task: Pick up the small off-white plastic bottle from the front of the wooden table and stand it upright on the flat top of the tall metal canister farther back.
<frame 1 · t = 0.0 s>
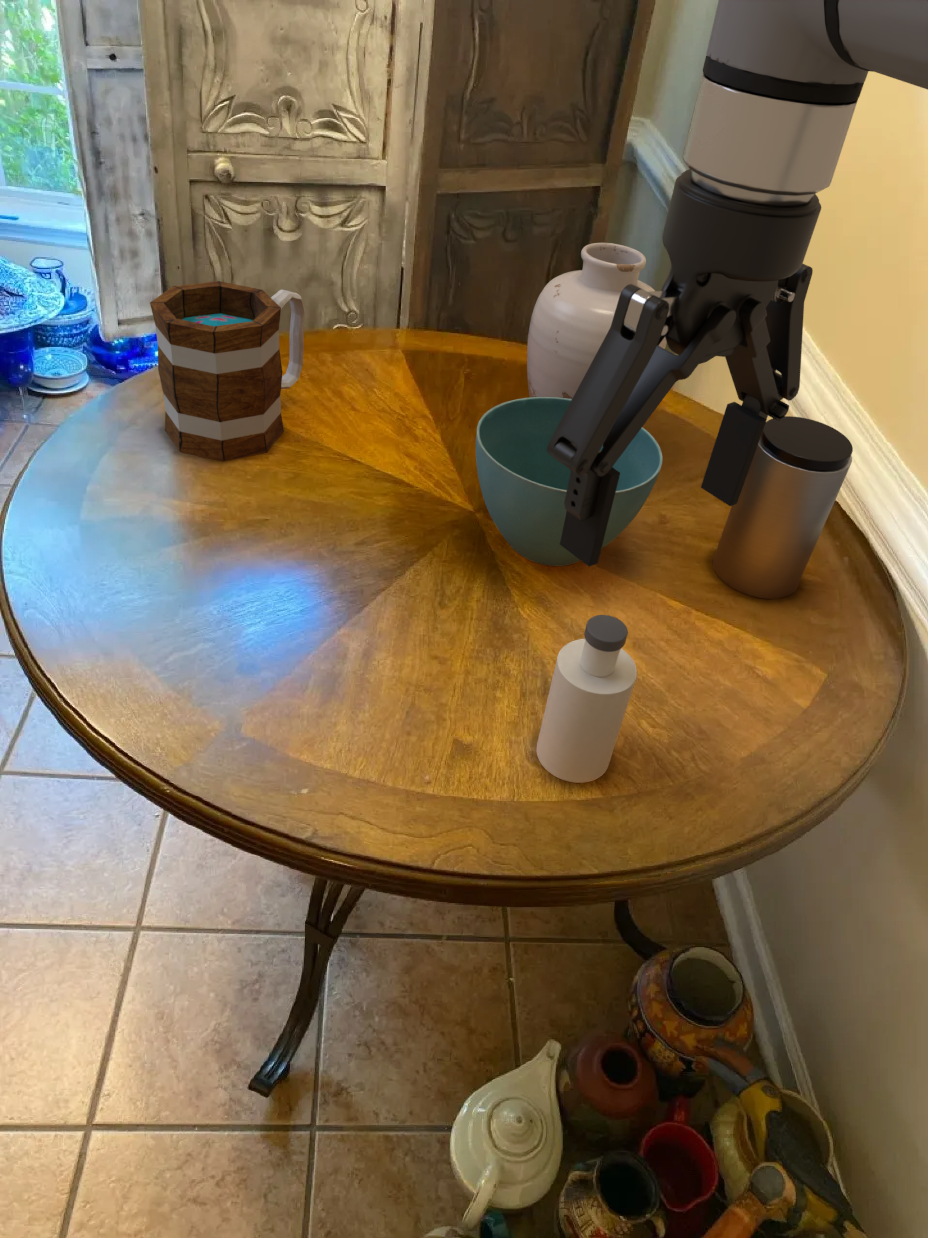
hand: (652, 523, 60), 22 cm above the table, tool pointing down, fingers open, 13 cm apart
metal canister: (755, 571, 96), on the table
vase: (575, 439, 114), on the table
bottle: (572, 754, 74), on the table
plant pot: (548, 544, 97), on the table
mug: (244, 423, 109), on the table
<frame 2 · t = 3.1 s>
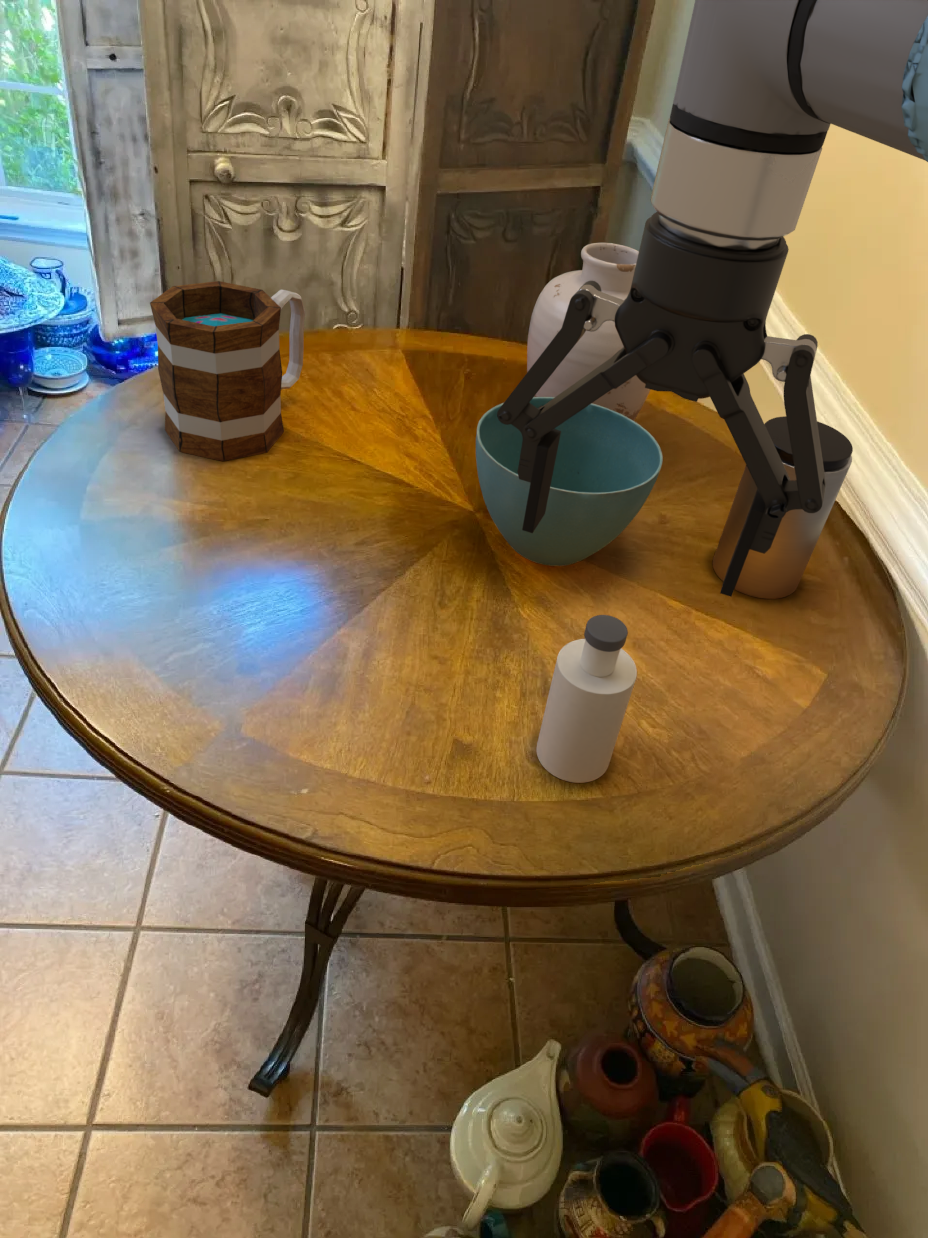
hand: (628, 552, 61), 20 cm above the table, tool pointing down, fingers open, 13 cm apart
nothing on the table moved.
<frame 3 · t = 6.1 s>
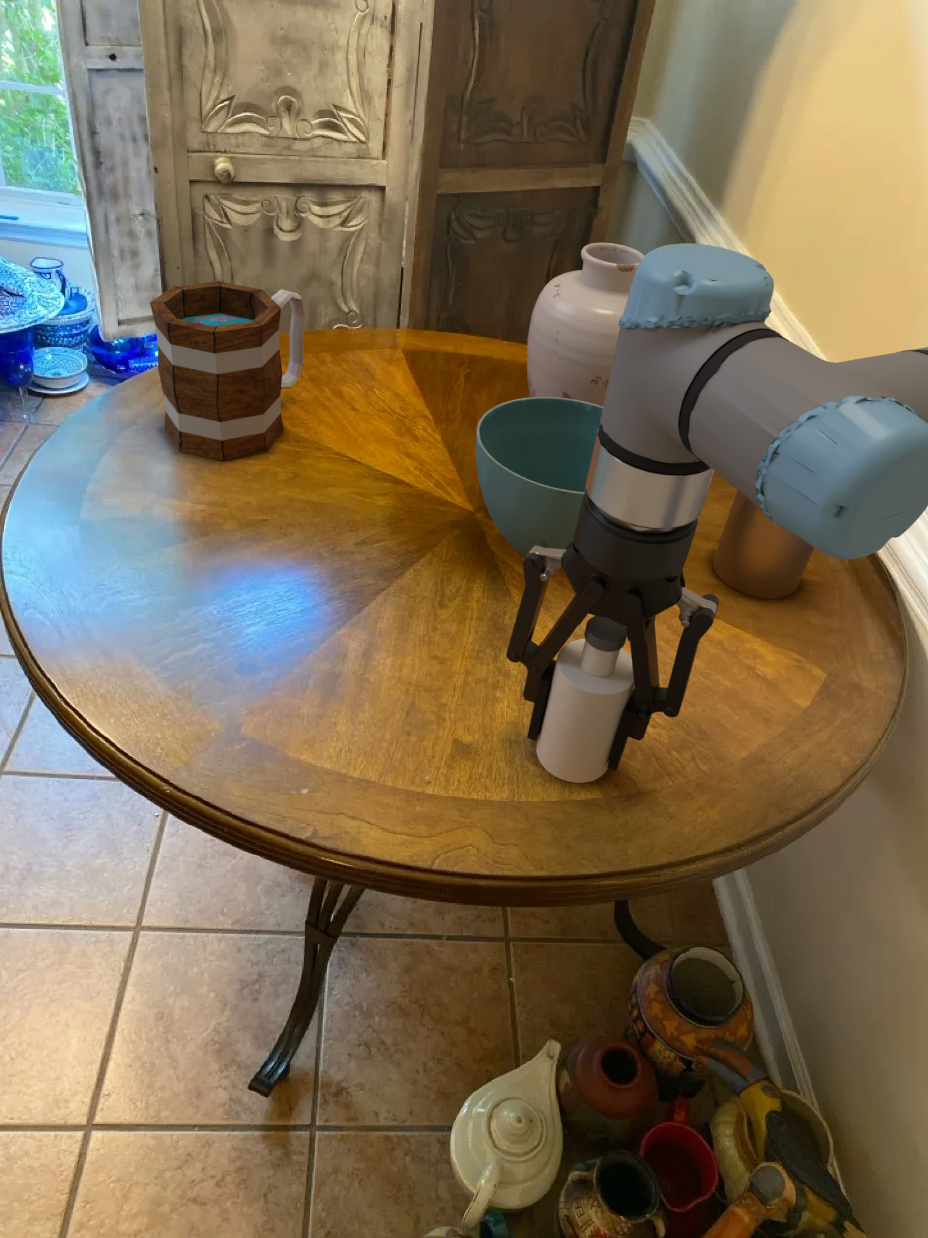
hand: (576, 742, 73), 1 cm above the table, tool pointing down, fingers closed on bottle, 6 cm apart
bottle: (572, 754, 74), on the table, touching gripper
everything else where it was.
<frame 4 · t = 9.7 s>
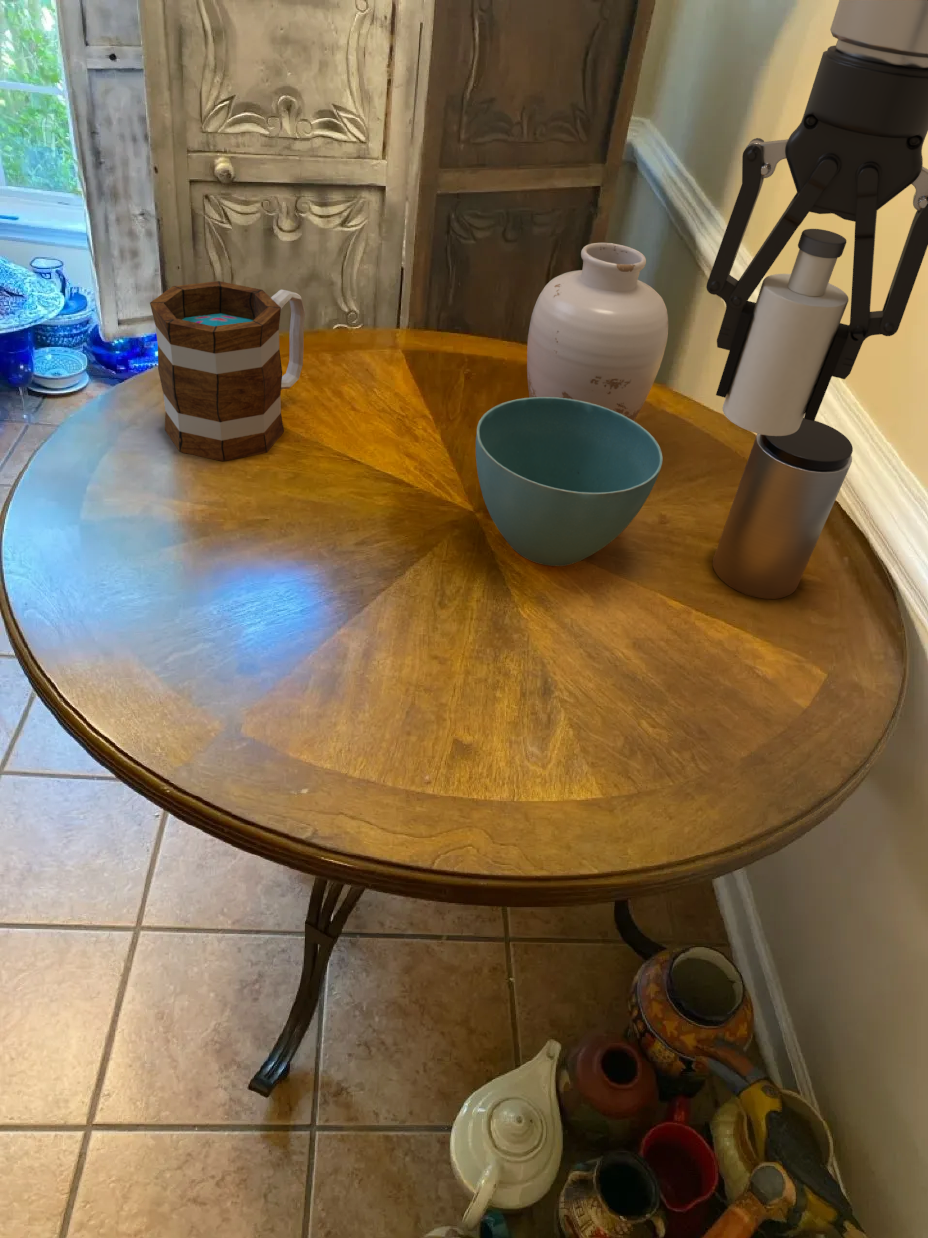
hand: (766, 400, 70), 25 cm above the table, tool pointing down, fingers closed on bottle, 6 cm apart
bottle: (760, 416, 71), point 24 cm above the table, touching gripper
everything else where it was.
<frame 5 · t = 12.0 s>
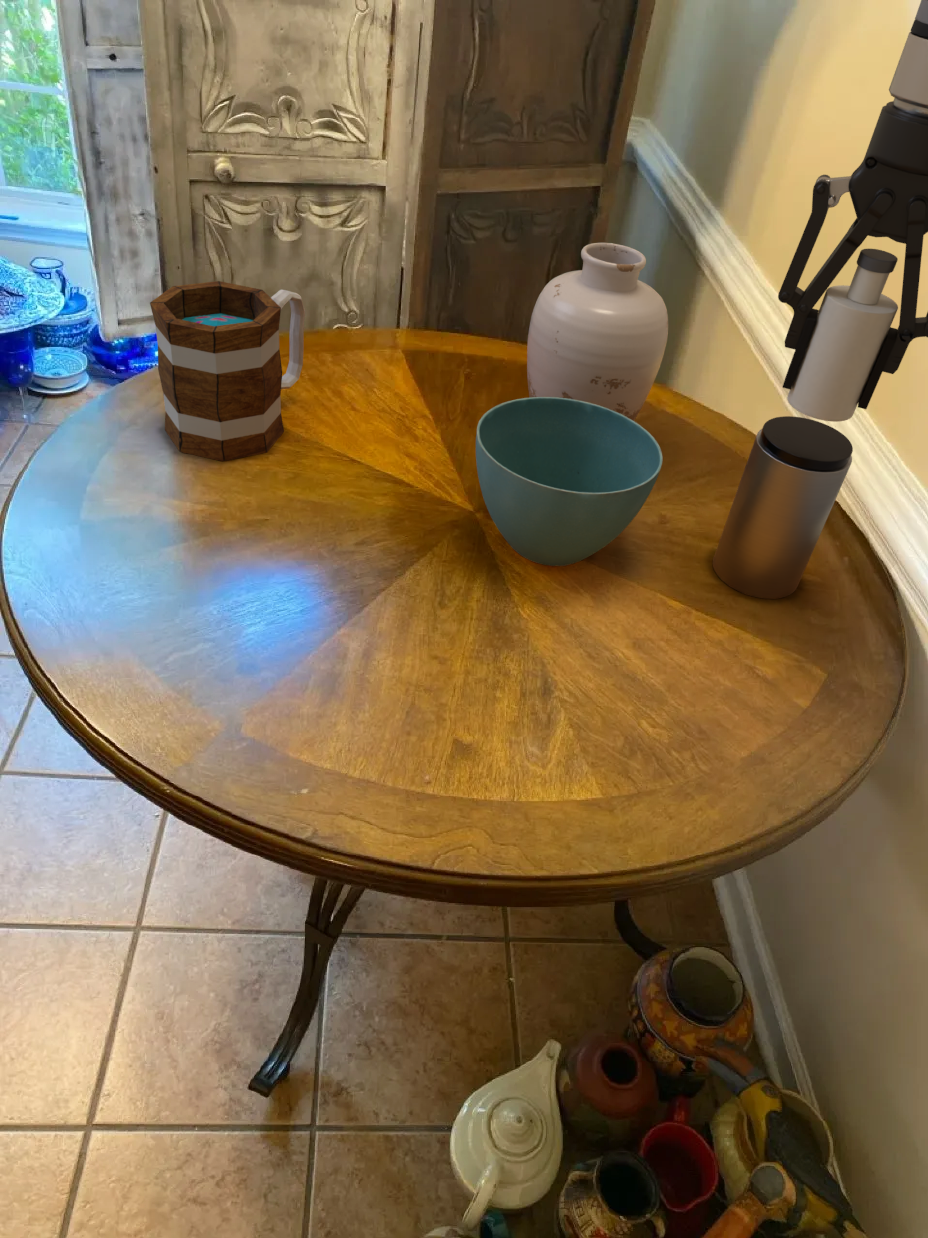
hand: (825, 391, 83), 21 cm above the table, tool pointing down, fingers closed on bottle, 6 cm apart
bottle: (819, 405, 84), point 19 cm above the table, touching gripper
everything else where it was.
when the fingers open (17 cm above the table, at t = 13.4 s): bottle stays where it is, resting on metal canister.
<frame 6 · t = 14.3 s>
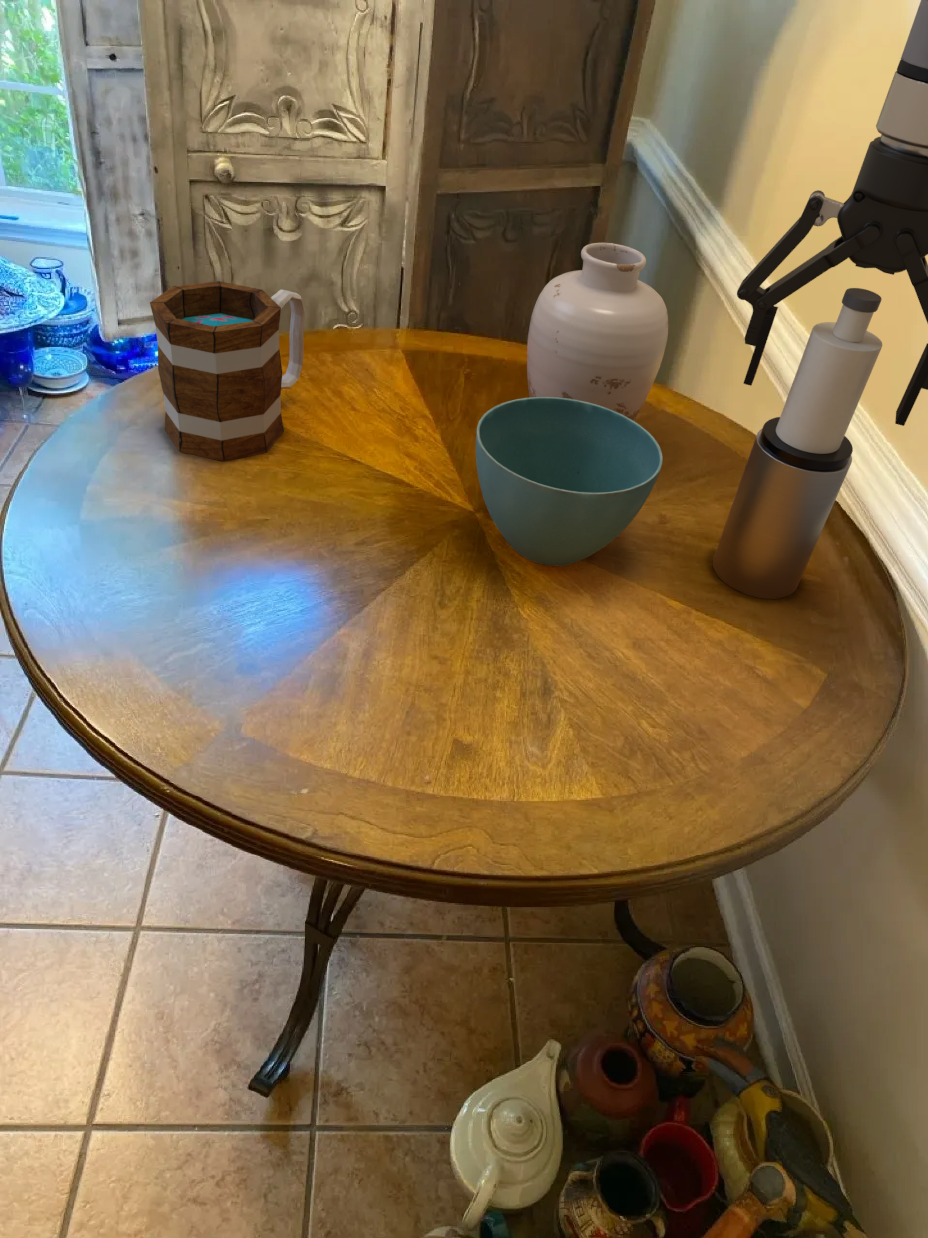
hand: (823, 398, 83), 20 cm above the table, tool pointing down, fingers open, 13 cm apart
metal canister: (755, 571, 96), on the table, touching bottle
bottle: (807, 437, 86), point 16 cm above the table, touching metal canister
everything else where it was.
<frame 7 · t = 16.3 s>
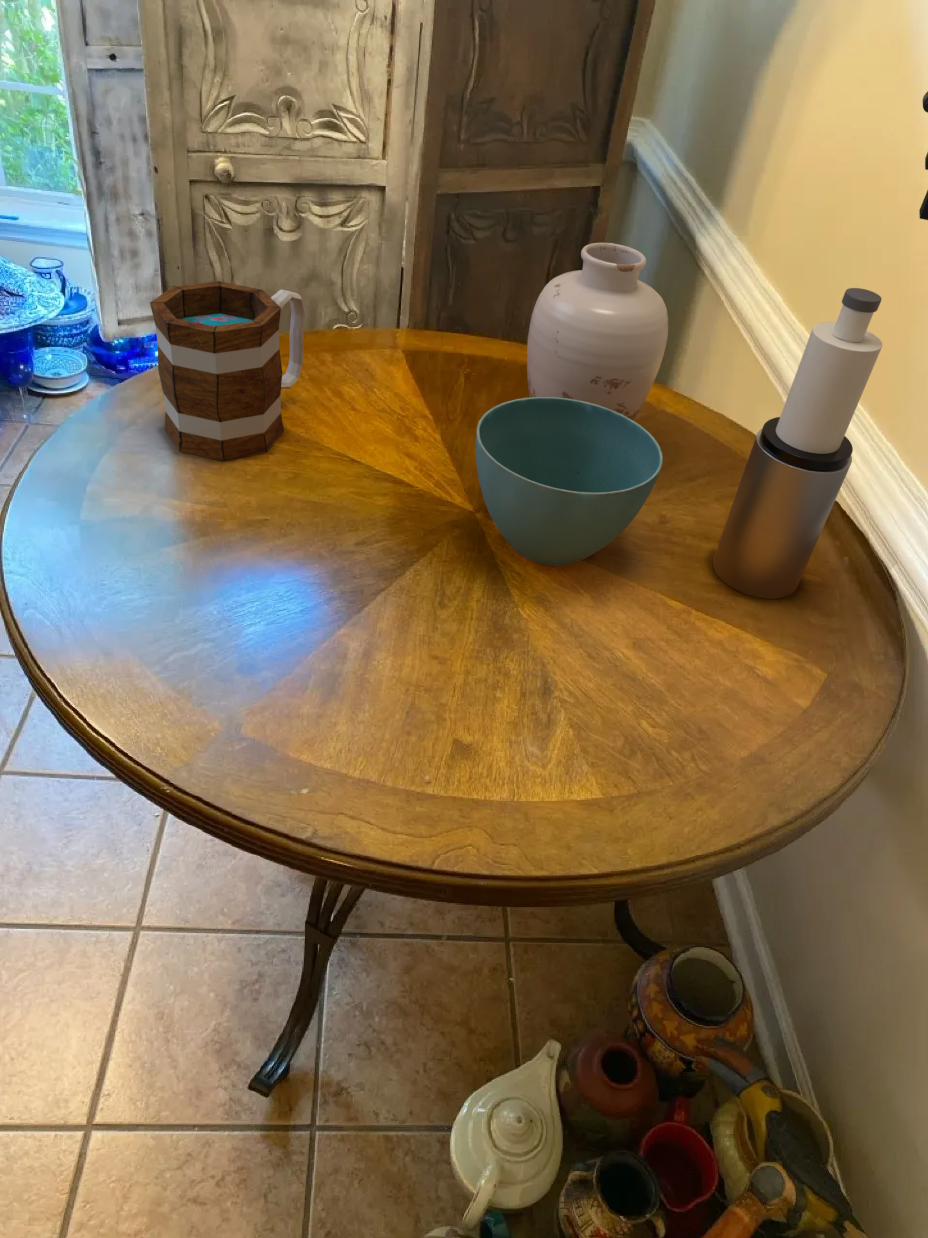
nothing on the table moved.
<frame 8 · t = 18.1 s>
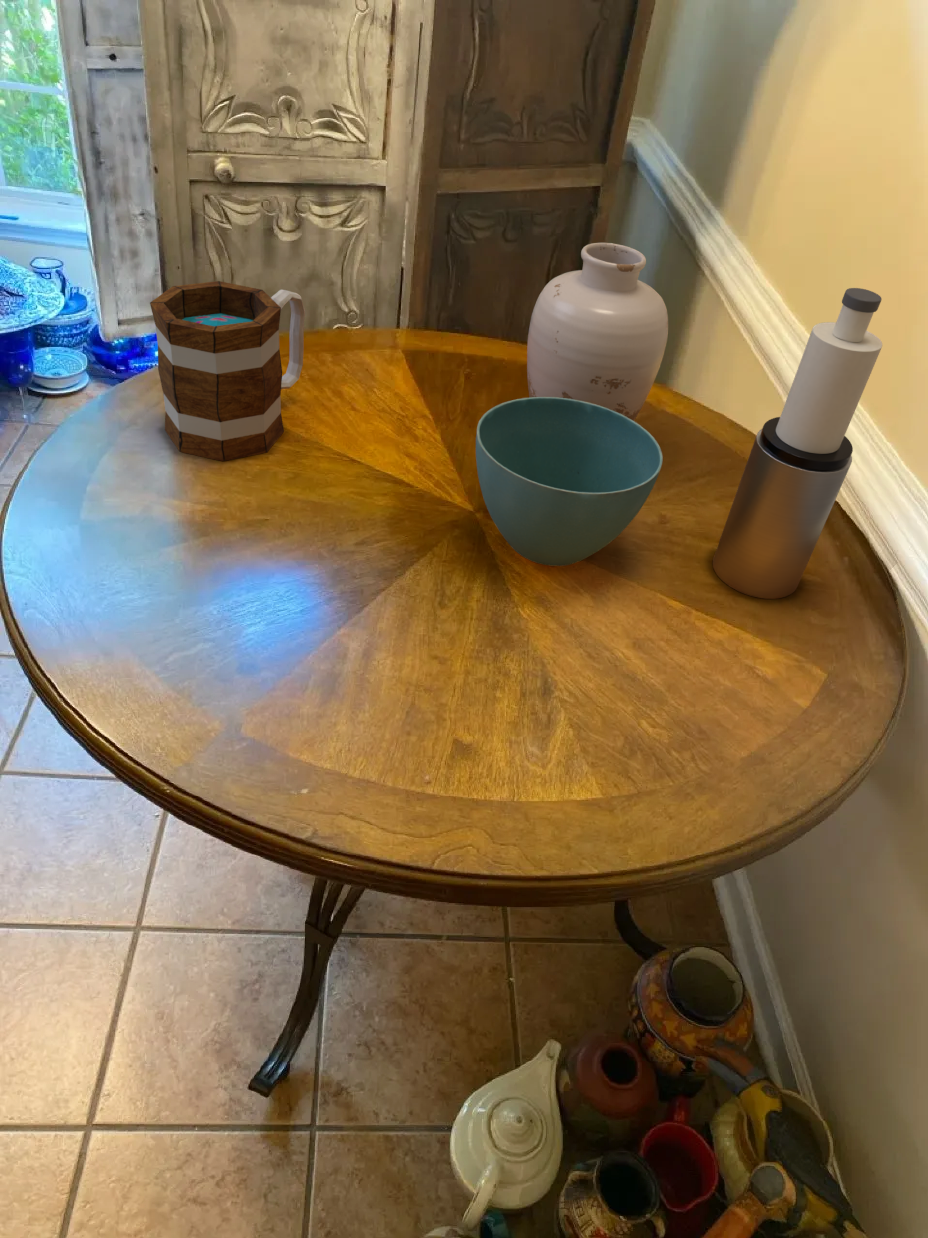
nothing on the table moved.
at the end: bottle 0.0 cm off-centre on the metal canister, point 16.0 cm above the metal canister's base; bottle tilted 0°; the gripper is holding nothing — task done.
